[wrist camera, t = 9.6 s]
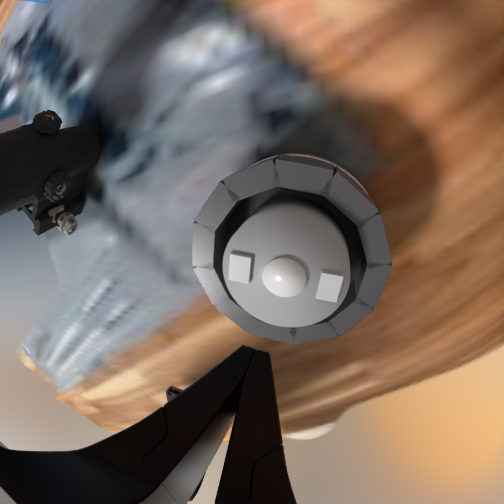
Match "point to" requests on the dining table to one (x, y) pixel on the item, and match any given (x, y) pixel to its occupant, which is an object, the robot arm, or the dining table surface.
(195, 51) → the dining table surface
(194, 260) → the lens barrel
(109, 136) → the dining table surface
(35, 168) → the scope
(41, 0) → the perfume bottle
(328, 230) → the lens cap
